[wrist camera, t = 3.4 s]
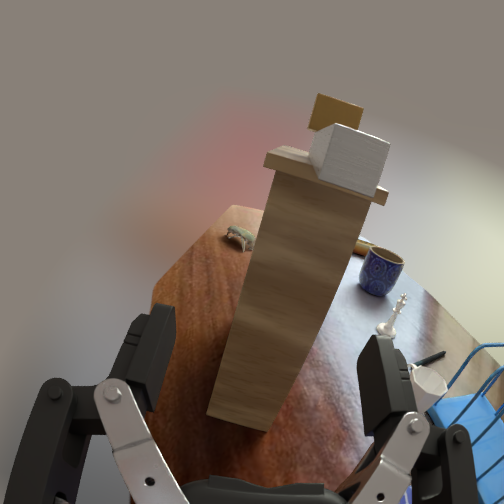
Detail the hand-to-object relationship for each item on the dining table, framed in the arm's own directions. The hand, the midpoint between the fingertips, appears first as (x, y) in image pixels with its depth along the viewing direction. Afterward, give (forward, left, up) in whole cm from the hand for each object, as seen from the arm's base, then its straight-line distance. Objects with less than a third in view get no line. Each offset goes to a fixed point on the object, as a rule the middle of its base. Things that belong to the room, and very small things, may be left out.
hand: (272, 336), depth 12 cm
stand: (-3, +26, -25) cm, 37 cm away
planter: (+18, +74, -26) cm, 80 cm away
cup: (+23, +28, -26) cm, 45 cm away
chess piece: (+21, +53, -26) cm, 62 cm away
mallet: (-1, +17, +6) cm, 18 cm away
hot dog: (+14, +102, -26) cm, 106 cm away
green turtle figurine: (-22, +71, -26) cm, 78 cm away
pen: (+32, +46, -26) cm, 62 cm away
